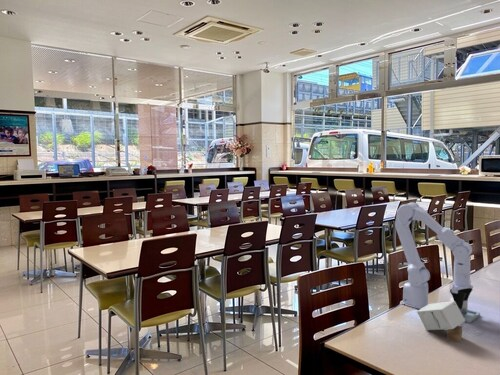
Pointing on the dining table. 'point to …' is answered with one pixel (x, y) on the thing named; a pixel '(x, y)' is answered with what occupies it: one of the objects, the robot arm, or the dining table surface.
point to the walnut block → (455, 333)
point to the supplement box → (441, 316)
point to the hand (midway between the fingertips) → (460, 306)
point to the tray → (471, 316)
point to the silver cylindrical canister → (464, 307)
